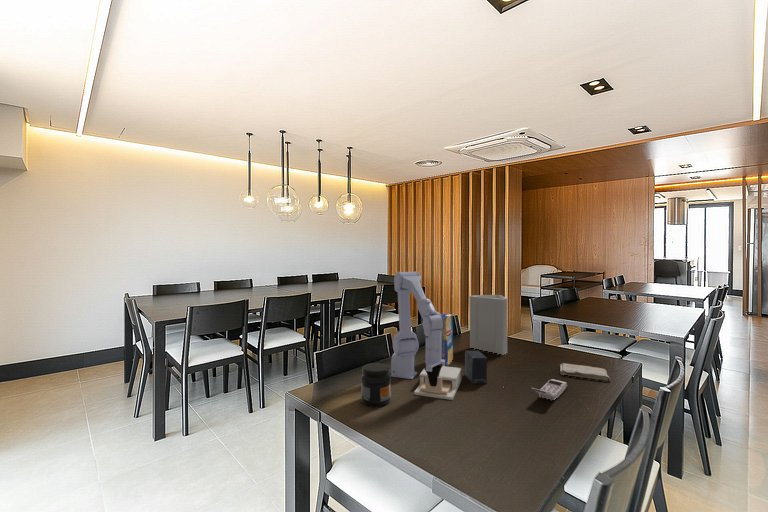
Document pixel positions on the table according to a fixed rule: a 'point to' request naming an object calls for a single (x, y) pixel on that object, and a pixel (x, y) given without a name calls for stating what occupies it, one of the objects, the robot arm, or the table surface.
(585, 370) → the washcloth
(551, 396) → the mobile phone
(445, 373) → the ticket dispenser
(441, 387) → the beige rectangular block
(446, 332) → the beverage box
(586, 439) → the table surface
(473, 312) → the grey tall box
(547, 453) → the table surface
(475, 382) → the small box
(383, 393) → the supplement container
